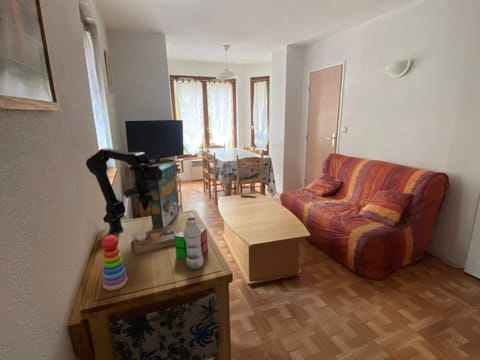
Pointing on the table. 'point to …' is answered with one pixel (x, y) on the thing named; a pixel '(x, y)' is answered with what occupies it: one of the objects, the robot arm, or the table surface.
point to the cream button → (141, 236)
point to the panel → (154, 240)
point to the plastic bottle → (193, 244)
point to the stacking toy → (113, 265)
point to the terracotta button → (154, 235)
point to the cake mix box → (164, 197)
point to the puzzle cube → (181, 244)
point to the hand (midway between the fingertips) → (145, 210)
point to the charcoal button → (167, 232)
